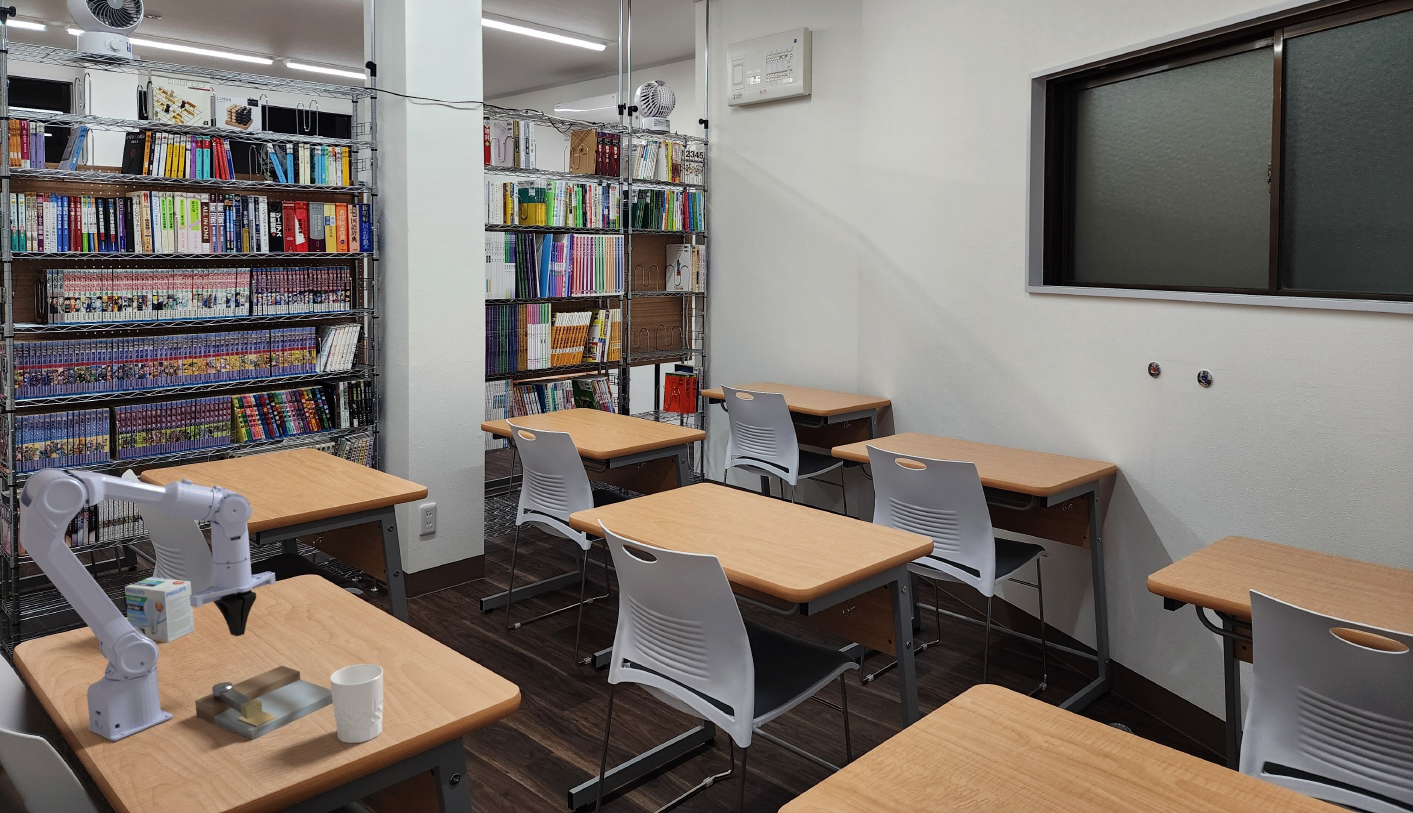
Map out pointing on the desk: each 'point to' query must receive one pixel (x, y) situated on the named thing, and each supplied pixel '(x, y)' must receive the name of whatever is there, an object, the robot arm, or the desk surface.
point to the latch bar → (237, 700)
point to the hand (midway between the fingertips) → (237, 634)
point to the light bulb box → (160, 608)
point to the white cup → (358, 702)
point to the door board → (266, 702)
